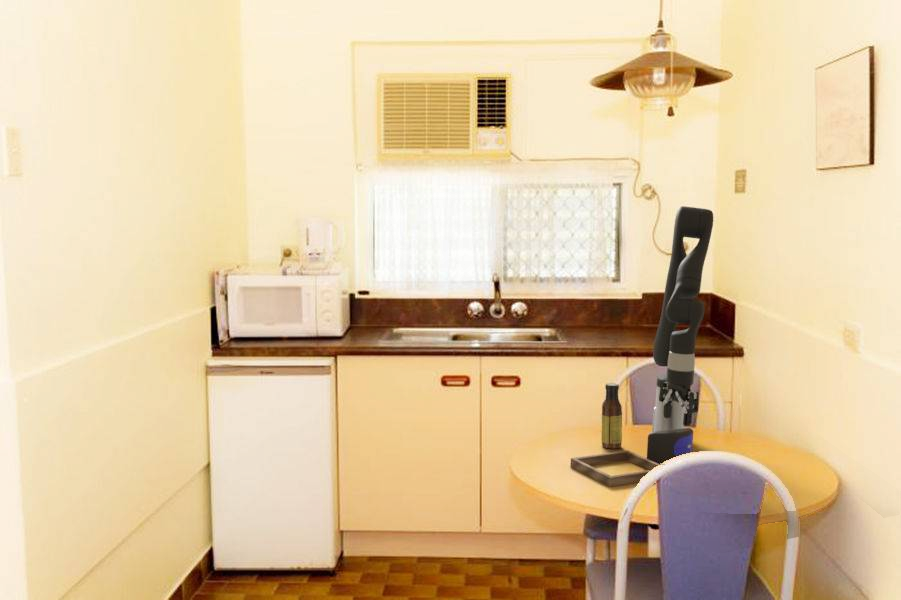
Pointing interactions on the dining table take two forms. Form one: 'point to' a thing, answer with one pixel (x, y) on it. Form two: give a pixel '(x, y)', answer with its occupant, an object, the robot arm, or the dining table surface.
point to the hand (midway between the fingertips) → (676, 421)
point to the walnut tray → (585, 462)
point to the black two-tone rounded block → (669, 444)
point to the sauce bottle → (611, 418)
